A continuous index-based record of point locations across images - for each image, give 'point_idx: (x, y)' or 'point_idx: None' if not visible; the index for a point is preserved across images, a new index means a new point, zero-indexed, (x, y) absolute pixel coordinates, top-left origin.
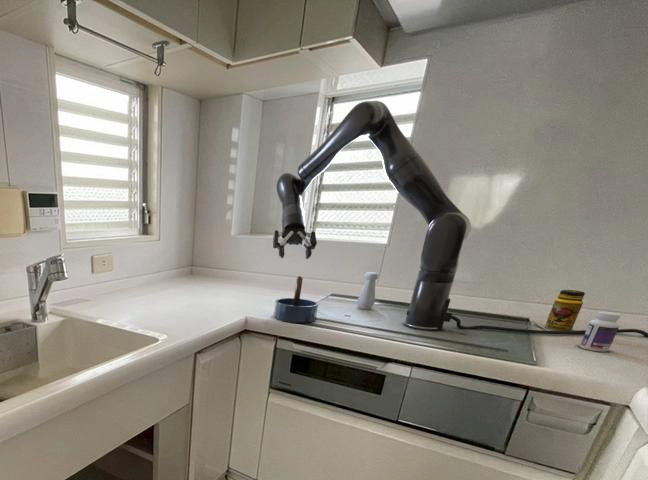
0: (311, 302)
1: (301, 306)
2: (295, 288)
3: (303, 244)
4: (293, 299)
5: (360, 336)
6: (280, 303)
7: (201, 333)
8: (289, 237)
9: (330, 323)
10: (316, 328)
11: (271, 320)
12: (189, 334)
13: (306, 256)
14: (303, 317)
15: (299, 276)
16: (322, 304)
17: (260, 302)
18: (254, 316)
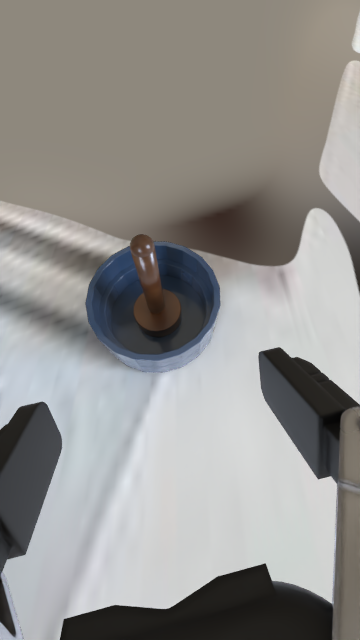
0: (101, 331)
1: None
2: (158, 269)
3: (8, 634)
4: (161, 354)
5: (33, 221)
6: (202, 259)
7: (328, 150)
8: (334, 589)
9: (68, 300)
10: (112, 246)
11: (216, 278)
12: (344, 140)
13: (52, 448)
14: None
15: (143, 236)
16: None
17: (297, 556)
18: (266, 302)
